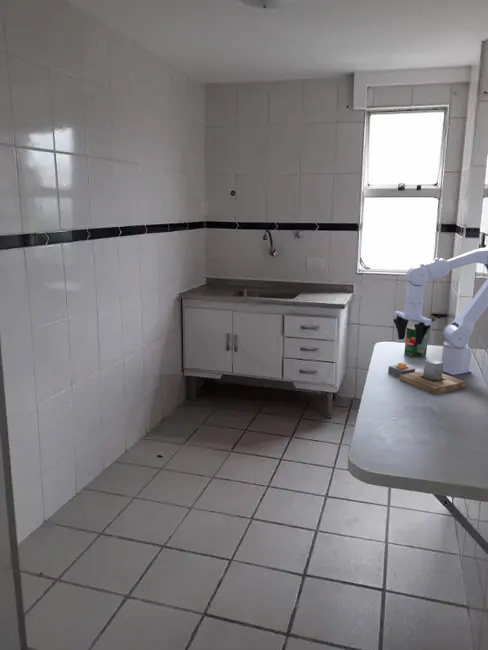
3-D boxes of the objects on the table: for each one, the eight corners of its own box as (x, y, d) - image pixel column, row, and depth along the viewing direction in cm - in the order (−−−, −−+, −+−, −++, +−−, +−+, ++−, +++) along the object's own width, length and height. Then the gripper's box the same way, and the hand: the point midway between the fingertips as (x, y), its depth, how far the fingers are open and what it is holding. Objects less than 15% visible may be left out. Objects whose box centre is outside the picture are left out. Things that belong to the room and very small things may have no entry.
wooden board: (429, 375, 184) (430, 369, 184) (465, 387, 172) (466, 381, 172) (399, 380, 177) (400, 374, 177) (434, 394, 165) (435, 388, 165)
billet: (431, 380, 177) (433, 359, 176) (441, 383, 174) (443, 362, 172) (422, 381, 175) (424, 360, 174) (432, 385, 172) (435, 364, 170)
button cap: (401, 369, 185) (402, 362, 185) (407, 371, 183) (408, 364, 182) (395, 370, 184) (396, 363, 183) (401, 372, 181) (402, 365, 181)
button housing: (400, 370, 188) (401, 363, 187) (414, 375, 183) (415, 368, 182) (388, 373, 184) (388, 366, 184) (401, 378, 179) (402, 371, 179)
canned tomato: (429, 356, 207) (432, 327, 205) (419, 360, 202) (423, 330, 199) (410, 351, 212) (413, 323, 210) (400, 355, 207) (403, 326, 204)
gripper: (389, 299, 190) (385, 337, 193) (422, 307, 178) (418, 348, 181) (403, 298, 194) (400, 336, 197) (437, 305, 181) (432, 345, 184)
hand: (409, 341), depth 189 cm, fingers open, 7 cm apart
